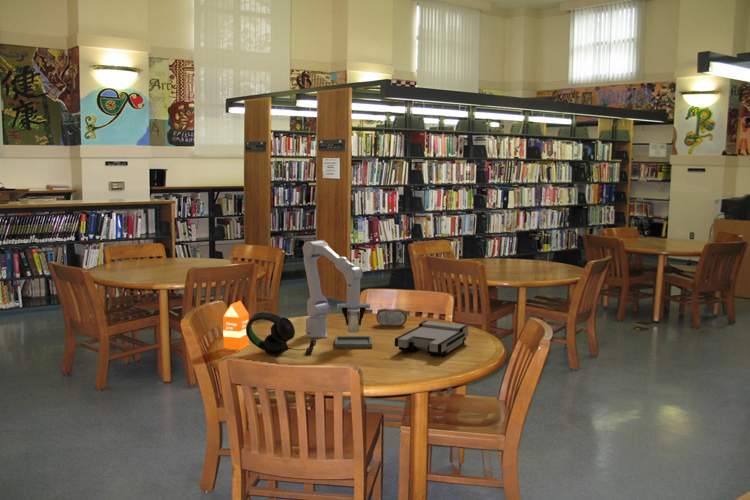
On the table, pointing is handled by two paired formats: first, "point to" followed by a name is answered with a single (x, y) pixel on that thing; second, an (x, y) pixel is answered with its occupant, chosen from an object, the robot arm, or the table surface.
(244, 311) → the orange juice
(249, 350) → the table surface
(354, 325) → the cylinder
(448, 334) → the game console
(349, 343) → the tray
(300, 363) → the table surface
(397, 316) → the tin
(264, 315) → the headset
